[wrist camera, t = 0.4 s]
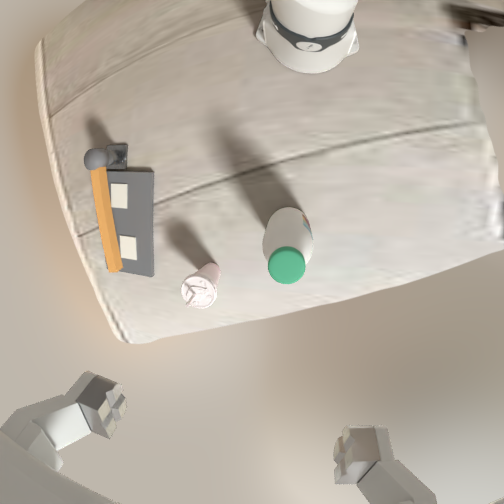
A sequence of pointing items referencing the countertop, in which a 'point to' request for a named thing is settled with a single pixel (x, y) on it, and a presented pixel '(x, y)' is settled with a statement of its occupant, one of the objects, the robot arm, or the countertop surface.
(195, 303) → the smoothie
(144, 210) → the tray
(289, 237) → the milk bottle
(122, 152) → the pivot post
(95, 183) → the strip
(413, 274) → the countertop surface
